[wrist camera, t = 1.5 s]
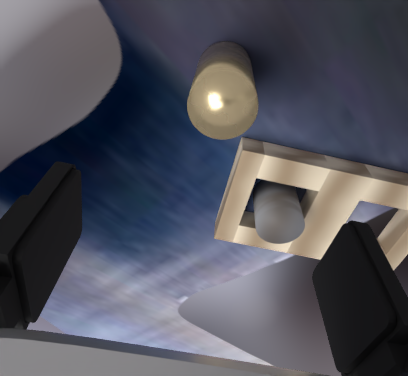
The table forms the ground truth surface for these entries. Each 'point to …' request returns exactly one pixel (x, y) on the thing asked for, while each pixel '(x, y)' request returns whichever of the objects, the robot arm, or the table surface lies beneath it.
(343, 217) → the jig
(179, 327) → the table surface
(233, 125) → the gold metallic cylinder
